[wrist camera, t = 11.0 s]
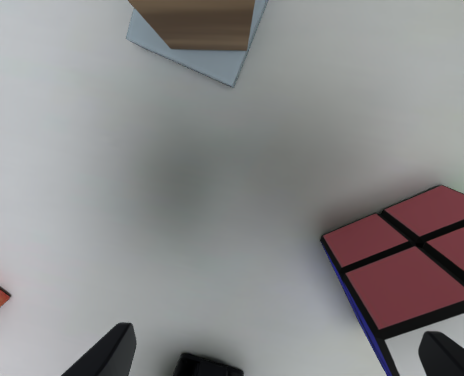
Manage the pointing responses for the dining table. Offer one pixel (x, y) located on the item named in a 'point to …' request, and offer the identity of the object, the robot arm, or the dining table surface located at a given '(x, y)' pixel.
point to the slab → (203, 61)
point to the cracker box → (3, 298)
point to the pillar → (199, 22)
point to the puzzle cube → (404, 275)
